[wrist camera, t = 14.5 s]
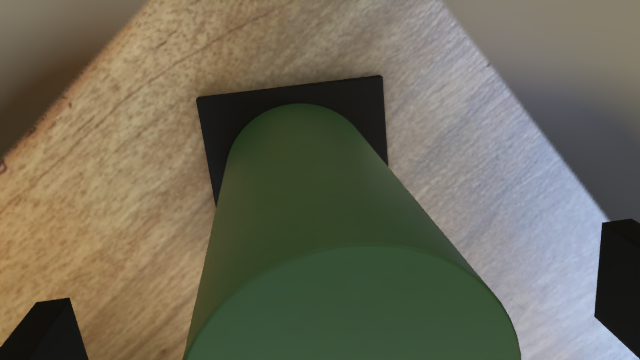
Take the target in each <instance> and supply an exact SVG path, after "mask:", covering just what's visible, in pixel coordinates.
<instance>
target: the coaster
mask: <svg viewBox="0 0 640 360" xmlns="http://www.w3.org/2000/svg"><path fill="white" fill-rule="evenodd" d="M196 102H197V108H198V113H199V118H200V124H201V129H202V135H203V140H204V146H205V151H206V156H207V162H208V167H209V173H210V178H211V183H212V189H213V194H214V200H215V205H216V208H217V203H218V199H219V194H220V190H221V185H222V181H223V176H224V172H225V167H226V163H227V158H228V155H229V152H230V149H231V147H232V145H233V143H234V141H235V139H236V138H237V136H238V135H239V133H240V132H241V131H242V130H243V129H244V128H245V126H246V125H247V124H249V123H250V122H251V121H252V120H253V119H255V118H256V117H258V116H259V115H261V114H262V113H264V112H266V111H268V110H270V109H273V108H276V107H279V106H282V105H288V104H297V103H304V104H313V105H318V106H322V107H325V108H328V109H331V110H333V111H334V112H336V113H338V114H340V115H341V116H343V117H344V118H346V119H347V120H348V121H349V122H350V123H351V124H353V125H354V127H355V128H356V129H357V130H358V131H359V133H360V134H361V135H362V136H363V137H364V139H365V140H366V141H367V142H368V143H369V145H370V146H371V147H372V148H373V149H374V151H375V152H376V153H377V154H378V155H379V157H380V158H381V159H382V160H383V161H384V163H385V164H386V165H387V166H388V156H387V140H386V124H385V108H384V93H383V77H382V76H380V75H376V76H368V77H359V78H351V79H343V80H335V81H326V82H318V83H310V84H302V85H293V86H285V87H277V88H269V89H261V90H252V91H244V92H236V93H228V94H219V95H211V96H203V97H198V98H197V99H196Z"/></svg>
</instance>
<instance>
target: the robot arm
mask: <svg viewBox="0 0 640 360" xmlns="http://www.w3.org/2000/svg"><path fill="white" fill-rule="evenodd" d="M594 317H595V318H597V319H598V320H599V321H600V322H601V323H602V324H603V325H604V326H605V327H606V328H607V329H608V330H609V331H610V332H612V333H613V334H614V335H615V336H616V337H617V338H618V339H619V340H620V341H621V342H622V343H623V344H624V345H625V346H627V347H628V348H629V349H630V350H631V351H632V352H633V353H634V354H635V355H636V356H637V357H638V358H639V359H640V223H638V222H636V221H635V220H633V219H625V220H618V221H611V222H604V223H602V231H601V243H600V255H599V267H598V279H597V290H596V302H595V314H594ZM0 360H88V356H87V353H86V350H85V347H84V343H83V340H82V337H81V334H80V330H79V327H78V324H77V320H76V317H75V314H74V311H73V307H72V304H71V301H70V298H63V299H56V300H49V301H42V302H36V303H35V305H34V306H33V307H32V308H31V310H30V311H29V312H28V313H27V315H26V316H25V317H24V318H23V320H22V321H21V322H20V323H19V325H18V326H17V327H16V328H15V330H14V331H13V332H12V333H11V335H10V336H9V337H8V338H7V340H6V341H5V342H4V343H3V345H2V346H1V347H0Z"/></svg>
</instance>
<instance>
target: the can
mask: <svg viewBox="0 0 640 360" xmlns="http://www.w3.org/2000/svg"><path fill="white" fill-rule="evenodd" d="M183 360H521V353H520V348H519V343H518V338H517V334H516V332H515V329H514V327H513V324H512V321H511V319H510V317H509V315H508V314H507V312H506V310H505V308H504V307H503V305H502V303H501V302H500V301H499V299H498V298H497V297H496V296H495V295H494V293H493V292H492V291H491V290H490V289H489V287H488V286H487V285H486V284H485V283H484V281H483V280H482V279H481V278H480V277H479V275H478V274H477V273H476V272H475V271H474V269H473V268H472V267H471V266H470V265H469V263H468V262H467V261H466V260H465V259H464V257H463V256H462V255H461V254H460V253H459V251H458V250H457V249H456V248H455V247H454V245H453V244H452V243H451V242H450V241H449V239H448V238H447V237H446V236H445V235H444V233H443V232H442V231H441V230H440V229H439V227H438V226H437V225H436V224H435V223H434V221H433V220H432V219H431V218H430V217H429V215H428V214H427V213H426V212H425V211H424V209H423V208H422V207H421V206H420V205H419V203H418V202H417V201H416V200H415V199H414V197H413V196H412V195H411V194H410V193H409V191H408V190H407V189H406V188H405V187H404V185H403V184H402V183H401V182H400V181H399V179H398V178H397V177H396V176H395V175H394V173H393V172H392V171H391V170H390V169H389V167H388V166H387V165H386V164H385V163H384V161H383V160H382V159H381V158H380V157H379V155H378V154H377V153H376V152H375V151H374V149H373V148H372V147H371V146H370V145H369V143H368V142H367V141H366V140H365V139H364V137H363V136H362V135H361V134H360V133H359V131H358V130H357V129H356V128H355V127H354V125H353V124H351V123H350V122H349V121H348V120H347V119H346V118H344V117H343V116H341V115H340V114H338V113H336V112H334V111H333V110H331V109H328V108H325V107H322V106H318V105H313V104H304V103H297V104H288V105H282V106H279V107H276V108H273V109H270V110H268V111H266V112H264V113H262V114H261V115H259V116H258V117H256V118H255V119H253V120H252V121H251V122H250V123H249V124H247V125H246V126H245V128H244V129H243V130H242V131H241V132H240V133H239V135H238V136H237V138H236V139H235V141H234V143H233V145H232V147H231V149H230V152H229V155H228V158H227V163H226V167H225V172H224V176H223V181H222V185H221V190H220V194H219V199H218V203H217V208H216V212H215V217H214V221H213V226H212V230H211V235H210V239H209V243H208V248H207V252H206V257H205V261H204V266H203V270H202V275H201V279H200V284H199V288H198V293H197V297H196V302H195V306H194V311H193V315H192V320H191V324H190V329H189V333H188V338H187V342H186V347H185V351H184V356H183Z"/></svg>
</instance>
